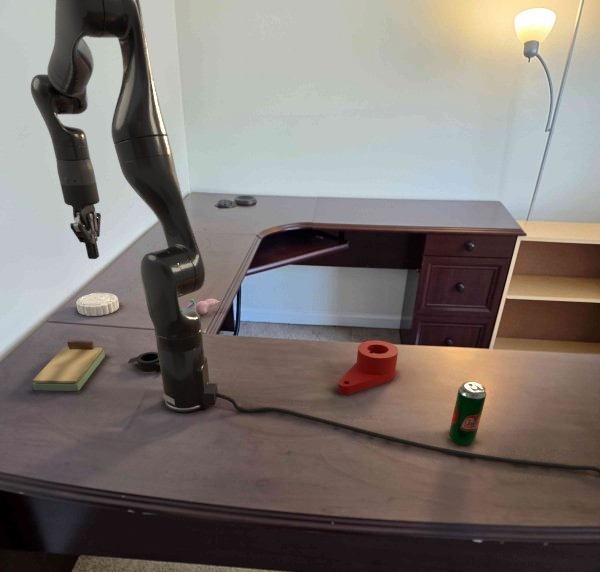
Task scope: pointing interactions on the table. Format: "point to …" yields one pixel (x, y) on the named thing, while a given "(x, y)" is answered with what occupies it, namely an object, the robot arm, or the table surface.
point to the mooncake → (97, 304)
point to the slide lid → (69, 363)
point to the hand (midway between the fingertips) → (94, 258)
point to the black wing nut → (147, 362)
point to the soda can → (467, 413)
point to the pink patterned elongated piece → (202, 305)
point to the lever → (370, 367)
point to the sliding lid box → (71, 385)
